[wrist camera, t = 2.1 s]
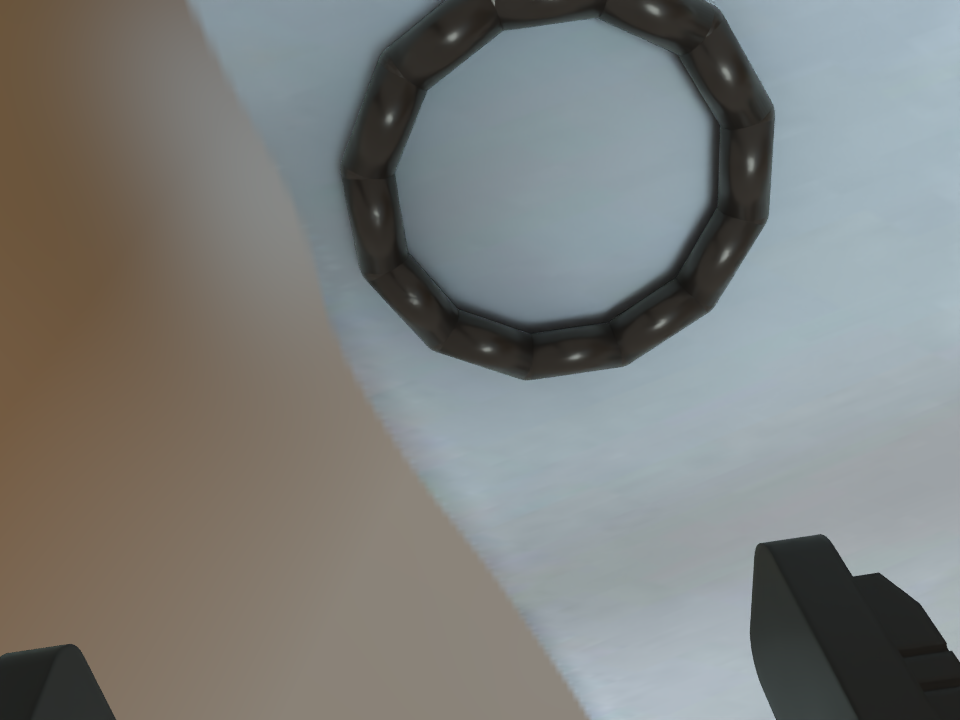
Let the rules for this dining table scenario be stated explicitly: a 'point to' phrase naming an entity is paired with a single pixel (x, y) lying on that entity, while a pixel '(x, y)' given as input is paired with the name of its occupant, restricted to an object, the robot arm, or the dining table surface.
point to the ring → (693, 293)
